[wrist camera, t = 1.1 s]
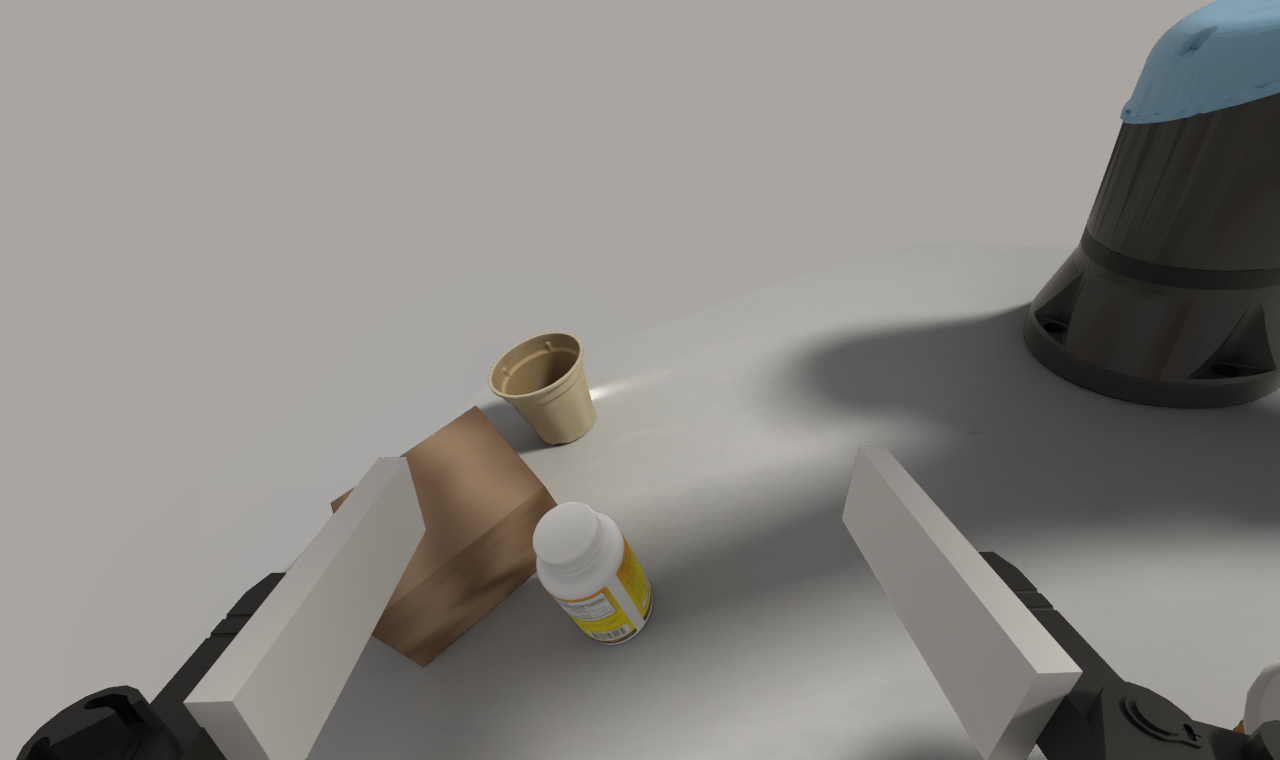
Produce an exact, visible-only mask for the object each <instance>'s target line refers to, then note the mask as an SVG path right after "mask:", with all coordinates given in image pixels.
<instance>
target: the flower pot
mask: <svg viewBox="0 0 1280 760" xmlns="http://www.w3.org/2000/svg"><path fill="white" fill-rule="evenodd" d="M583 352H584V350H583V345H582V342H581V341H580V339H579V338H578V337H576V336H575V335H573V334H571V333H567V332H559V331H554V332H547V333H542V334H538V335H535V336H532V337H529V338H528V339H525V340H523V341H521V342H520V343H518V344H516V345H514V346H513V347H512V348H510V349H509V350H507V351H506V352H505V353H504V354H503V355H501V356H500V358H498V359H497V361H496V362H495V363H494V365H493V367H492V368H491V370H490V373H489V376H488V384H489V387H490V388H491V390H492V391H493V392H494V393H495V394H496V395H498V396H500V397H502V398H504V400H506V401H507V402H508V403H510V404H512V405H513V406H514V407H515V408H516V410H517V411H518V412H519V413H520V414H521V415H522V416H523V417H524V419H525V420H526V421H527V422H528V423H529V424H530V425H531V427H532V428H533V429H534V430H535V431H536V432H537V434H538V435H539V436H540V437H541V439H542V440H544V441H545V442H547V443H549V444H553V445H555V444H557V443H570V442H573V441H575V440H577V439H578V438H580V437H581V436H583V435H584V434H585V433H586V432H587V431H588V430H589V429H590V427H591V426H592V424H593V419H594V415H595V411H594V408H593V404H592V400H591V397H590V393H589V389H588V386H587V382H586V378H585V374H584V370H583Z"/></svg>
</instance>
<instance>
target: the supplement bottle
mask: <svg viewBox="0 0 1280 760" xmlns="http://www.w3.org/2000/svg"><path fill="white" fill-rule="evenodd" d="M533 547H534V550H535V553H536V554H537V561H536V567H537V573H538V577H539V579H540V581H541V583H542V585H543V586H544V588H545V589H546V590H547V591H548V592H549V593H550V594H551V596H552V597H553V598H554V599H555V600H556V601H557V602H558V603H559V605H560V606H561V607H562V608H563V609H564V610H565V611H566V612H567V614H568V615H569V616H570V617H571V618H572V619H573V620H574V621H575V622H576V623H577V625H578V626H579V627H580V628H581V629H582V630H583V631H584V632H585V634H586V635H588V636H589V637H590V638H591V639H593V640H594V641H596V642H599V643H602V644H607V645H613V644H619V643H623V642H625V641H627V640H629V639H631V638H632V637H634V636H635V635H636V634H637V633H638V632H639V631H640V630H641V629H642V628H643V627H644V625H645V624H646V622H647V620H648V618H649V616H650V613H651V609H652V603H653V594H652V588H651V585H650V583H649V580H648V579H647V577H646V575H645V573H644V571H643V570H642V568H641V566H640V564H639V563H638V561H637V559H636V557H635V556H634V554H633V552H632V550H631V549H630V547H629V545H628V543H627V542H626V540H625V538H624V536H623V534H622V533H621V531H620V529H619V528H618V526H617V525H616V523H615V522H614V521H613V520H612V519H611V518H609V517H608V516H606V515H604V514H602V513H599V512H595V511H593V510H592V509H591V508H590V507H589V506H587V505H586V504H584V503H580V502H567V503H563V504H560V505H558V506H556V507H554V508H553V509H551V510H550V511H548V512H547V513H546V514H545V515H544V516H543V517H542V518H541V520H540V521H539V523H538V524H537V526H536V529H535V531H534V535H533Z"/></svg>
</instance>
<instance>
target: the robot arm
mask: <svg viewBox="0 0 1280 760" xmlns="http://www.w3.org/2000/svg"><path fill="white" fill-rule="evenodd" d="M1120 118H1121V119H1122V120H1123V124H1122V126H1121V129H1120V132H1119V135H1118V138H1117V141H1116V144H1115V147H1114V149H1113V152H1112V155H1111V158H1110V161H1109V164H1108V166H1107V169H1106V172H1105V175H1104V177H1103V180H1102V182H1101V185H1100V188H1099V191H1098V194H1097V196H1096V199H1095V202H1094V204H1093V207H1092V210H1091V213H1090V215H1089V218H1088V221H1087V224H1086V227H1085V230H1084V233H1083V235H1082V238H1081V241H1080V243H1079V245H1078V247H1077V248H1076V249H1075V251H1074V252H1073V253H1072V254H1071V255H1070V256H1069V258H1068V259H1067V260H1066V261H1065V262H1064V264H1063V265H1062V266H1061V267H1060V268H1059V270H1058V271H1057V272H1056V273H1055V274H1054V275H1053V277H1052V278H1051V279H1050V280H1049V281H1048V283H1047V284H1046V285H1045V286H1044V287H1043V289H1042V290H1041V291H1040V292H1039V293H1038V295H1037V296H1036V297H1035V299H1034V300H1033V302H1032V304H1031V306H1030V309H1029V313H1028V316H1027V319H1026V322H1025V326H1024V338H1025V341H1026V344H1027V345H1028V347H1029V349H1030V350H1031V352H1032V353H1033V354H1034V355H1035V357H1036V358H1037V359H1038V360H1039V361H1041V362H1042V363H1043V364H1044V365H1045V366H1047V367H1048V368H1049V369H1051V370H1052V371H1054V372H1055V373H1057V374H1059V375H1060V376H1062V377H1064V378H1066V379H1068V380H1070V381H1072V382H1074V383H1076V384H1078V385H1081V386H1083V387H1085V388H1088V389H1091V390H1093V391H1096V392H1099V393H1102V394H1106V395H1109V396H1113V397H1116V398H1120V399H1124V400H1129V401H1134V402H1139V403H1145V404H1151V405H1159V406H1168V407H1186V408H1204V407H1219V406H1228V405H1235V404H1240V403H1244V402H1248V401H1252V400H1255V399H1258V398H1261V397H1263V396H1266V395H1268V394H1270V393H1272V392H1274V391H1275V390H1277V389H1278V388H1280V0H1217V1H1215V2H1213V3H1211V4H1208V5H1206V6H1204V7H1202V8H1200V9H1199V10H1197V11H1195V12H1193V13H1191V14H1190V15H1188V16H1186V17H1185V18H1183V19H1182V20H1180V21H1179V22H1178V23H1176V24H1175V25H1174V26H1173V27H1171V28H1170V29H1169V30H1168V31H1167V32H1166V33H1165V34H1164V35H1163V36H1162V37H1161V38H1160V39H1159V40H1158V42H1157V43H1156V44H1155V45H1154V47H1153V49H1152V50H1151V52H1150V54H1149V56H1148V58H1147V60H1146V63H1145V65H1144V68H1143V70H1142V72H1141V75H1140V77H1139V80H1138V82H1137V85H1136V87H1135V89H1134V92H1133V94H1132V96H1131V99H1130V100H1129V101H1128V102H1127V103H1126V104H1125V106H1124V107H1123V109H1122V113H1121V117H1120ZM842 521H843V522H844V524H845V526H846V527H847V529H848V531H849V532H850V534H851V536H852V538H853V539H854V541H855V543H856V544H857V546H858V548H859V549H860V551H861V553H862V555H863V556H864V558H865V560H866V561H867V563H868V565H869V566H870V568H871V570H872V571H873V573H874V575H875V577H876V578H877V580H878V582H879V583H880V585H881V587H882V588H883V590H884V592H885V594H886V595H887V597H888V599H889V600H890V602H891V604H892V605H893V607H894V609H895V610H896V612H897V614H898V616H899V617H900V619H901V621H902V622H903V624H904V626H905V627H906V629H907V631H908V633H909V634H910V636H911V638H912V639H913V641H914V643H915V644H916V646H917V648H918V650H919V651H920V653H921V655H922V656H923V658H924V660H925V661H926V663H927V665H928V666H929V668H930V670H931V672H932V673H933V675H934V677H935V678H936V680H937V682H938V683H939V685H940V687H941V689H942V690H943V692H944V694H945V695H946V697H947V699H948V700H949V702H950V704H951V705H952V707H953V709H954V711H955V712H956V714H957V716H958V717H959V719H960V721H961V722H962V724H963V726H964V728H965V729H966V731H967V733H968V734H969V736H970V738H971V739H972V741H973V743H974V744H975V746H976V748H977V750H978V751H979V753H980V755H981V756H982V758H983V760H1026V758H1027V757H1028V755H1029V754H1030V752H1031V751H1032V749H1033V748H1034V746H1035V745H1036V744H1037V745H1038V746H1039V748H1040V749H1041V751H1042V752H1043V754H1044V755H1045V756H1046V758H1047V759H1048V760H1280V721H1279V720H1272V721H1268V722H1263V723H1262V724H1261V725H1260V726H1259V727H1258V728H1257V729H1256V730H1255V731H1254V732H1253V733H1252V734H1251V735H1247V734H1243V733H1239V732H1236V731H1232V730H1228V729H1224V728H1220V727H1217V726H1213V725H1209V724H1205V723H1202V722H1198V721H1194V720H1192V719H1191V718H1190V717H1189V716H1188V715H1187V714H1186V713H1184V712H1183V711H1182V710H1181V709H1179V708H1178V707H1177V706H1175V705H1174V704H1173V703H1172V702H1170V701H1169V700H1167V699H1166V698H1164V697H1162V696H1160V695H1158V694H1157V693H1155V692H1153V691H1151V690H1150V689H1147V688H1144V687H1142V686H1139V685H1136V684H1133V683H1130V682H1125V681H1124V680H1123V679H1122V678H1120V677H1119V676H1118V675H1117V674H1116V673H1115V672H1114V670H1113V669H1112V668H1111V667H1110V666H1109V665H1108V664H1107V663H1106V662H1105V661H1104V660H1103V659H1102V658H1101V657H1100V656H1099V655H1098V653H1097V652H1096V651H1095V650H1094V649H1093V648H1092V647H1091V646H1090V645H1089V644H1088V643H1087V642H1086V641H1085V640H1084V639H1083V638H1082V636H1081V635H1080V634H1079V633H1078V632H1077V631H1076V630H1075V629H1074V628H1073V627H1072V626H1071V625H1070V624H1069V623H1068V622H1067V621H1066V619H1065V618H1064V617H1063V616H1062V615H1061V614H1060V613H1059V612H1058V611H1057V610H1054V609H1053V606H1052V605H1051V604H1050V602H1049V601H1048V600H1047V599H1046V598H1045V597H1044V596H1043V595H1042V594H1041V593H1038V592H1037V589H1036V588H1035V587H1034V585H1033V584H1032V583H1031V582H1030V581H1029V580H1028V579H1027V578H1026V577H1025V576H1024V575H1023V574H1022V573H1021V572H1020V571H1019V570H1018V569H1017V568H1016V567H1014V566H1013V565H1012V564H1010V563H1009V562H1007V561H1006V560H1004V559H1003V558H1001V557H1000V556H999V555H997V554H996V553H994V552H977V551H976V550H975V549H974V547H973V546H972V545H971V544H970V543H969V542H968V541H967V539H966V538H965V537H964V536H963V535H962V534H961V533H960V531H959V530H958V529H957V528H956V527H955V526H954V525H953V524H952V522H951V521H950V520H949V519H948V518H947V517H946V516H945V514H944V513H943V512H942V511H941V510H940V509H939V508H938V506H937V505H936V504H935V503H934V502H933V501H932V500H931V499H930V497H929V496H928V495H927V494H926V493H925V492H924V491H923V489H922V488H921V487H920V486H919V485H918V484H917V483H916V481H915V480H914V479H913V478H912V477H911V476H910V475H909V474H908V472H907V471H906V470H905V469H904V468H903V467H902V466H901V464H900V463H899V462H898V461H897V460H896V459H895V458H894V456H893V455H892V454H891V453H890V452H889V451H888V450H887V449H886V447H885V446H878V447H859V448H858V452H857V457H856V461H855V465H854V469H853V473H852V478H851V482H850V486H849V490H848V494H847V499H846V503H845V507H844V511H843V516H842ZM425 531H426V528H425V524H424V521H423V517H422V513H421V510H420V506H419V502H418V499H417V495H416V491H415V488H414V484H413V480H412V477H411V473H410V469H409V466H408V462H407V458H406V457H386V458H385V457H384V458H378V460H377V461H376V462H375V464H374V465H373V466H372V467H371V468H370V470H369V471H368V472H367V473H366V475H365V476H364V477H363V479H362V480H361V481H360V482H359V483H358V485H357V486H356V487H355V488H354V490H353V491H352V492H351V493H350V495H349V496H348V497H347V498H346V500H345V501H344V502H343V503H342V505H341V506H340V507H339V508H338V510H337V511H336V512H335V513H334V515H333V516H332V517H331V518H330V520H329V521H328V522H327V523H326V525H325V526H324V527H323V528H322V530H321V531H320V532H319V534H318V535H317V536H316V537H315V538H314V540H313V541H312V542H311V543H310V545H309V546H308V547H307V549H306V550H305V551H304V552H303V553H302V555H301V556H300V557H299V558H298V560H297V561H296V562H295V563H294V565H293V566H292V567H291V568H290V570H289V571H288V572H287V573H271V574H269V575H268V576H267V577H265V578H264V579H263V580H261V581H260V582H259V583H258V584H256V585H255V586H254V587H252V588H251V589H250V590H248V591H247V592H246V593H245V594H244V595H243V596H242V597H241V599H240V600H239V601H238V602H237V603H236V604H235V606H234V607H233V608H232V609H231V610H230V611H229V612H228V614H227V617H226V619H223V620H222V621H221V622H220V623H219V624H218V625H217V626H216V628H215V629H214V630H213V631H212V632H211V636H210V638H206V639H205V640H204V642H203V643H202V644H201V645H200V646H199V647H198V649H197V650H196V651H195V652H194V653H193V655H192V656H191V657H190V658H189V659H188V660H187V661H186V663H185V664H184V665H183V666H182V667H181V669H180V670H179V671H178V672H177V673H176V674H175V675H174V677H173V678H172V679H171V680H170V681H169V682H168V684H167V685H166V686H165V687H164V688H163V689H162V691H161V692H160V693H159V694H158V695H157V696H156V698H155V699H154V700H153V701H152V702H151V703H150V704H149V703H148V702H147V700H146V699H145V698H144V697H143V695H142V694H141V693H140V692H139V690H138V689H135V688H132V687H129V686H118V687H111V688H107V689H104V690H101V691H99V692H96V693H94V694H91V695H89V696H86V697H84V698H83V699H81V700H79V701H78V702H76V703H74V704H72V705H70V706H69V707H67V708H65V709H64V710H62V711H61V712H59V713H58V714H57V715H56V716H54V717H53V718H52V719H51V720H50V721H48V722H47V723H46V724H44V725H43V726H42V727H41V728H39V730H38V731H37V732H36V733H35V734H34V735H33V736H32V737H31V739H29V741H28V742H27V743H26V744H25V745H24V746H23V747H22V749H21V751H20V753H19V755H18V757H17V759H16V760H306V758H307V756H308V754H309V752H310V751H311V749H312V747H313V745H314V743H315V741H316V739H317V737H318V735H319V733H320V731H321V730H322V728H323V726H324V724H325V722H326V720H327V718H328V716H329V714H330V712H331V710H332V709H333V707H334V705H335V703H336V701H337V699H338V697H339V695H340V693H341V691H342V689H343V688H344V686H345V684H346V682H347V680H348V678H349V676H350V674H351V672H352V670H353V668H354V667H355V665H356V663H357V661H358V659H359V657H360V655H361V653H362V651H363V649H364V647H365V646H366V644H367V642H368V640H369V638H370V636H371V634H372V632H373V630H374V628H375V626H376V625H377V623H378V621H379V619H380V617H381V615H382V613H383V611H384V609H385V607H386V605H387V604H388V602H389V600H390V598H391V596H392V594H393V592H394V590H395V588H396V586H397V584H398V583H399V581H400V579H401V577H402V575H403V573H404V571H405V569H406V567H407V565H408V563H409V562H410V560H411V558H412V556H413V554H414V552H415V550H416V548H417V546H418V544H419V542H420V541H421V539H422V537H423V535H424V533H425Z"/></svg>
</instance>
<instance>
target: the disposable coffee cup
mask: <svg viewBox="0 0 1280 760" xmlns="http://www.w3.org/2000/svg"><path fill="white" fill-rule="evenodd" d="M1272 720H1279V721H1280V657H1279V658H1278V659H1276V660H1275V661H1274V662H1272V663H1271V664H1270V665H1268V666H1267V667H1266V668H1264V670H1263V671H1262V672H1261V674H1260V675H1259V676H1258V678H1257V679H1256V681H1255V682H1254V683H1253V685H1252V686H1251V688H1250V689H1249V691H1248V693H1247V699H1246V706H1245V712H1244V718H1243V720H1242V721H1240V723H1239V725H1238V726H1237V727H1235V728H1234V729H1233V731H1236V732H1239V733H1243V734H1247V735H1251V734H1252V733H1253V732H1254V731H1255V730H1256V729H1257V728H1258V727H1259V726H1260V725H1261V724H1262V723H1263V722H1268V721H1272Z"/></svg>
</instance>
